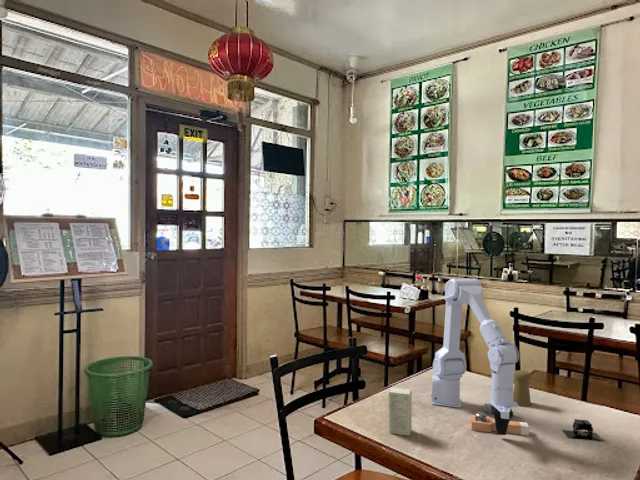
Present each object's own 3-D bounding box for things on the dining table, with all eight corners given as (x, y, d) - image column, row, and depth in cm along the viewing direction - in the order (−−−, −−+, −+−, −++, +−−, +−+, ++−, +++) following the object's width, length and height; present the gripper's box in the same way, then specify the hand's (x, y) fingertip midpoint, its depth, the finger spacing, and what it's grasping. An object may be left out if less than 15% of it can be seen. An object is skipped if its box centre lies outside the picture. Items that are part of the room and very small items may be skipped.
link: (471, 429, 131) (471, 421, 131) (470, 422, 136) (470, 414, 136) (529, 437, 127) (529, 428, 127) (526, 429, 132) (526, 421, 132)
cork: (527, 400, 155) (528, 368, 154) (533, 407, 149) (534, 374, 148) (509, 399, 155) (510, 368, 155) (514, 406, 149) (515, 373, 149)
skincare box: (411, 430, 130) (412, 389, 130) (409, 436, 126) (410, 394, 126) (390, 426, 132) (391, 386, 132) (387, 433, 128) (388, 391, 128)
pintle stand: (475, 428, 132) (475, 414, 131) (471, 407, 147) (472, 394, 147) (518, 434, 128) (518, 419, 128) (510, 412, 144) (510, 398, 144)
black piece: (563, 440, 126) (564, 425, 126) (554, 429, 133) (555, 414, 133) (611, 445, 124) (612, 429, 124) (600, 433, 131) (600, 418, 131)
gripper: (522, 397, 118) (520, 447, 118) (513, 379, 132) (512, 424, 132) (493, 394, 119) (492, 444, 120) (488, 377, 133) (487, 421, 134)
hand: (501, 433), depth 126 cm, fingers closed
